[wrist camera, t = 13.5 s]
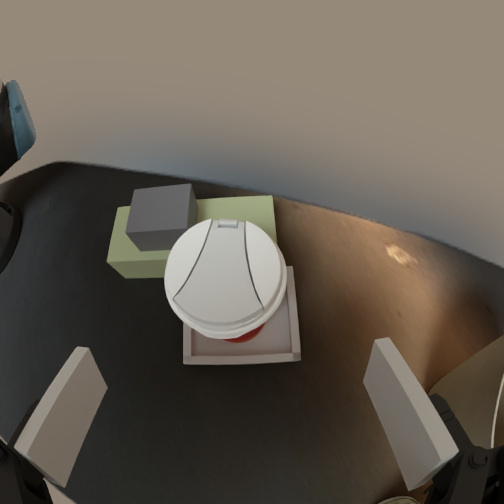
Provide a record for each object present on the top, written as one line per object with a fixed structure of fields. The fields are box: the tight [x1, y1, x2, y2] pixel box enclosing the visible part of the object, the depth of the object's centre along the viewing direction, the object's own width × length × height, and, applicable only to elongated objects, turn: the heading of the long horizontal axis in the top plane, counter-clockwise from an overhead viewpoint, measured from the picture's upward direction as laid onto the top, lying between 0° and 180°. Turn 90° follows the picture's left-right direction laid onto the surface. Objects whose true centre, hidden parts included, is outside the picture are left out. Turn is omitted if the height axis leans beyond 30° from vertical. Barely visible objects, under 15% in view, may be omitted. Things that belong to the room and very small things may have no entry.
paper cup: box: [164, 219, 287, 343], centre depth 22 cm, size 8×8×14 cm
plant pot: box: [427, 335, 504, 449], centre depth 16 cm, size 15×15×16 cm
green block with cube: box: [107, 184, 301, 365], centre depth 26 cm, size 20×17×9 cm
